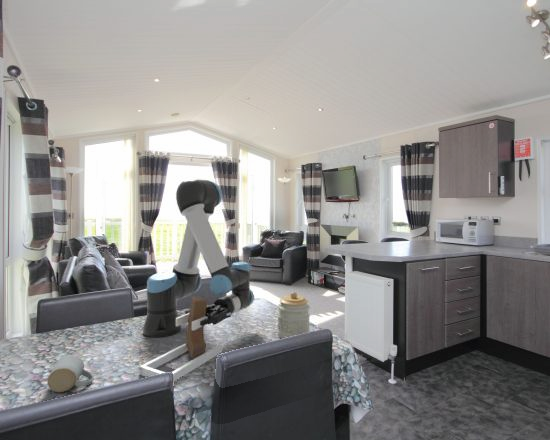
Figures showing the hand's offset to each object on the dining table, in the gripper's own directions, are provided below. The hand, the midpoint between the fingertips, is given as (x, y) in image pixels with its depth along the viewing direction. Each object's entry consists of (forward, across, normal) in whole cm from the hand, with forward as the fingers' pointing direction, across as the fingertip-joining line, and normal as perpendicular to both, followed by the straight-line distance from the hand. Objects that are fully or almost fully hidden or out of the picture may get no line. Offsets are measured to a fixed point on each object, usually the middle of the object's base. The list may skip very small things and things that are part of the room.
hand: (184, 324), depth 109 cm
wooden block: (-5, 0, -11) cm, 12 cm away
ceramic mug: (+26, +18, -13) cm, 35 cm away
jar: (-38, -22, -13) cm, 46 cm away
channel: (0, 0, -13) cm, 13 cm away
